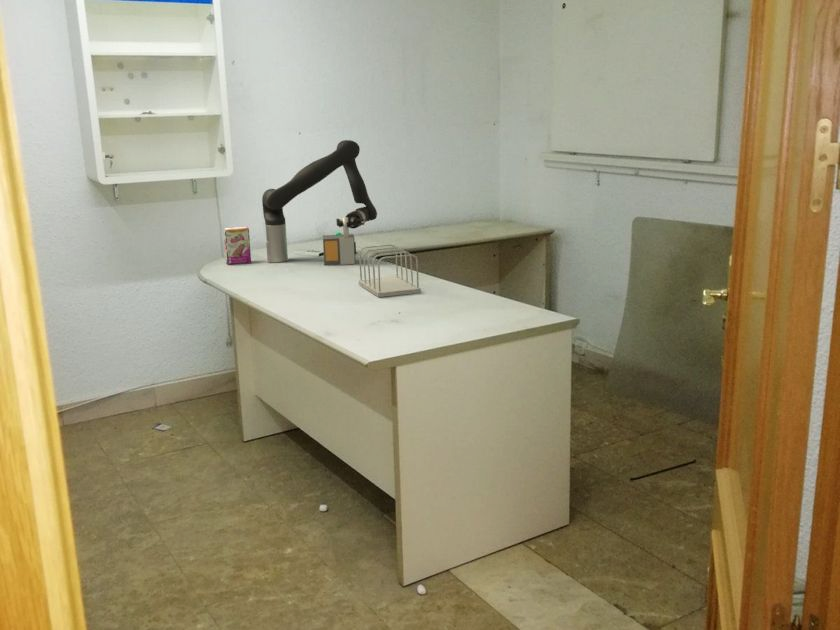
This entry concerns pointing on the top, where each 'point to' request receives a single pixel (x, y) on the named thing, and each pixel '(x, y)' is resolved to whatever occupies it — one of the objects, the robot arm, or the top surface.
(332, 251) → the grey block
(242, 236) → the candy bar box
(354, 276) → the top surface
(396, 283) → the file sorter
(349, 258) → the grey spatula
